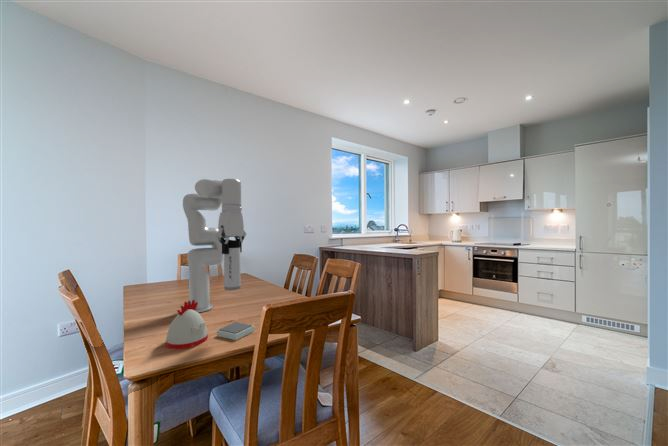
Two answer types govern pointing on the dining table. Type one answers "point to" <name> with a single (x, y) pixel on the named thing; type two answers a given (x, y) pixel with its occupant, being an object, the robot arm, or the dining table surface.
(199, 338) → the kitchen timer
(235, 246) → the travel mug
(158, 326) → the dining table surface
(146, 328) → the dining table surface
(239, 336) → the stand
